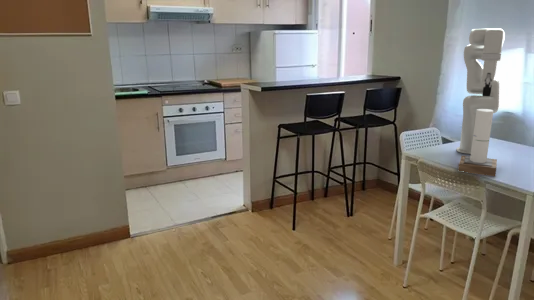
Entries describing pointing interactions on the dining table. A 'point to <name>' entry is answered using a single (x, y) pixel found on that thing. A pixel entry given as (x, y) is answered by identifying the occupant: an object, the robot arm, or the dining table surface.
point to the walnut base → (478, 166)
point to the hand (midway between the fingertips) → (486, 94)
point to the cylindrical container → (481, 135)
